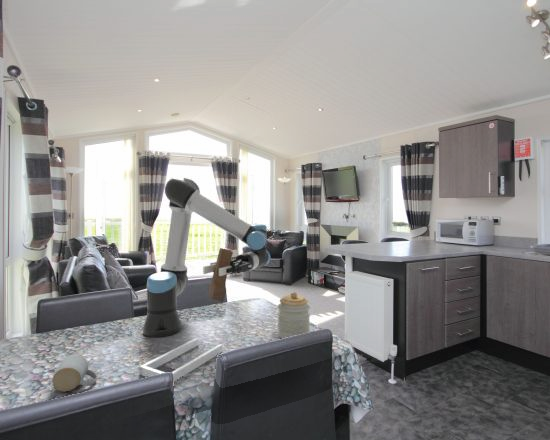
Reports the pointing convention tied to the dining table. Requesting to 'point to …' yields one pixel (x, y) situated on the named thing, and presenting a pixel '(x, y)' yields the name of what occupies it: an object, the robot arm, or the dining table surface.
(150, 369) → the channel
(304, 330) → the jar
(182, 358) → the dining table surface
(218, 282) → the wooden block
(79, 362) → the ceramic mug
